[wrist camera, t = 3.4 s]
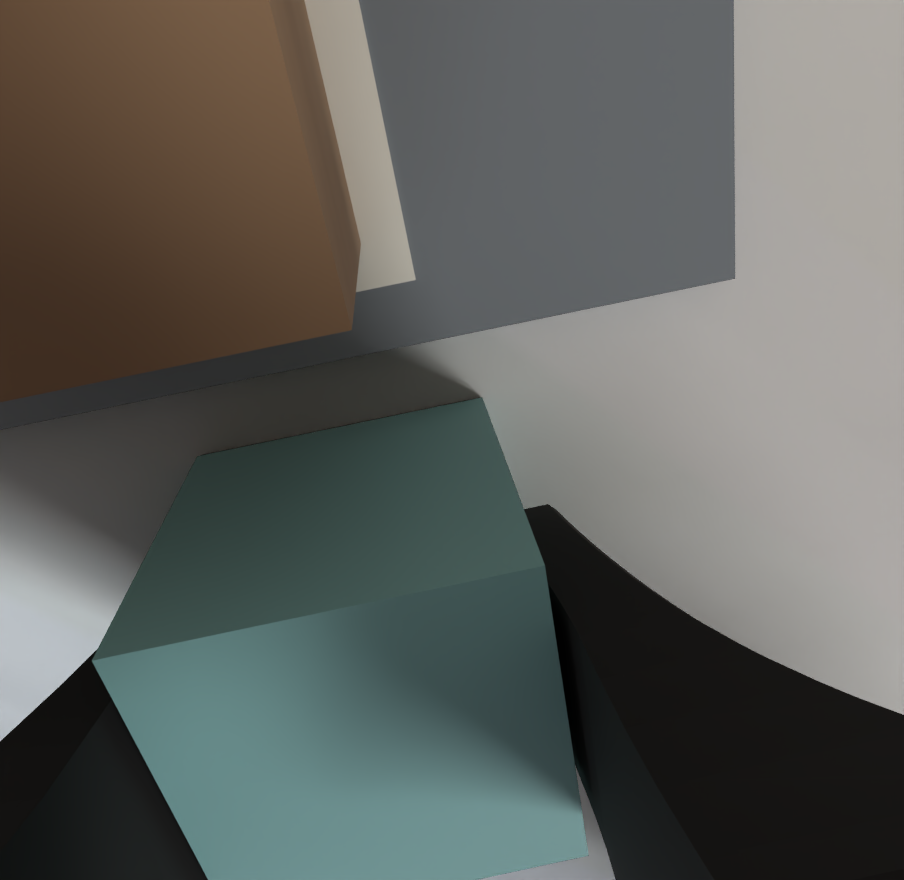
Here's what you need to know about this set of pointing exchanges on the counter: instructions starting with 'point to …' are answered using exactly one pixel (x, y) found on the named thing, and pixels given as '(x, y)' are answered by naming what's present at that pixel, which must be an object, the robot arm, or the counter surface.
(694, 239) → the mat
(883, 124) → the counter surface
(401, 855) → the teal block
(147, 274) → the walnut block
